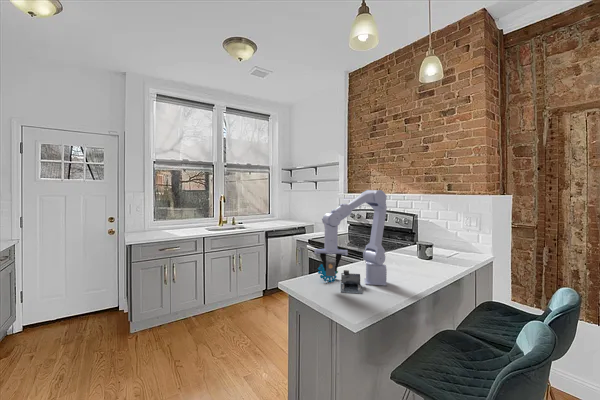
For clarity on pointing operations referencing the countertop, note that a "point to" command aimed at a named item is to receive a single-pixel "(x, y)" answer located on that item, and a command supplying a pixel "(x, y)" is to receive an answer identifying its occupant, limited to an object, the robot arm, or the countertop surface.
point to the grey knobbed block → (330, 267)
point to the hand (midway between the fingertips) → (330, 270)
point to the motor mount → (350, 283)
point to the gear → (325, 274)
